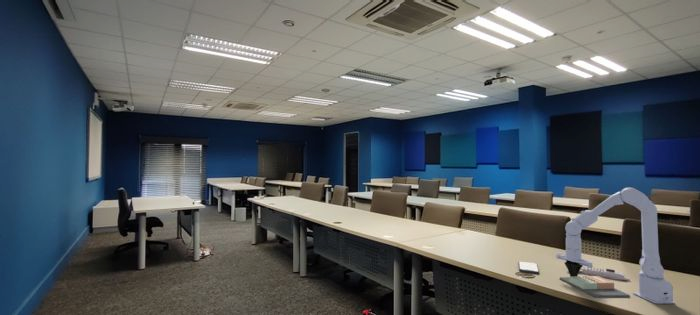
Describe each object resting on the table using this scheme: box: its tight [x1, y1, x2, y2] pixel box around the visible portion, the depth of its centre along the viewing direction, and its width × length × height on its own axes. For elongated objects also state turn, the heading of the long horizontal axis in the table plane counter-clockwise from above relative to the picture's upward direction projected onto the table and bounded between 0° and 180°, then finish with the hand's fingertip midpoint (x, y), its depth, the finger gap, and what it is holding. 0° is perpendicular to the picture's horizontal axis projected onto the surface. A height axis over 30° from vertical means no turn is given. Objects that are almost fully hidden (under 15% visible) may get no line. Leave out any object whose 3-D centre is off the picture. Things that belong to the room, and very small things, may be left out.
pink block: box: [583, 275, 615, 289], centre depth 136 cm, size 8×7×3 cm
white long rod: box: [580, 265, 631, 282], centre depth 153 cm, size 6×6×25 cm
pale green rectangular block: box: [569, 275, 598, 289], centre depth 136 cm, size 8×6×3 cm
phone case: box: [518, 261, 540, 275], centre depth 160 cm, size 9×2×16 cm
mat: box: [559, 276, 631, 298], centre depth 136 cm, size 20×14×1 cm
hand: (573, 278), depth 141 cm, fingers closed
